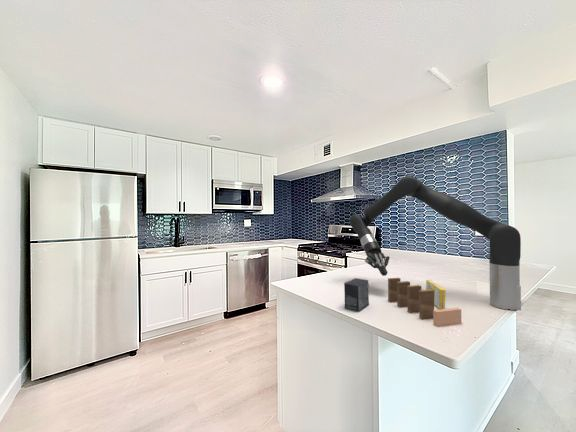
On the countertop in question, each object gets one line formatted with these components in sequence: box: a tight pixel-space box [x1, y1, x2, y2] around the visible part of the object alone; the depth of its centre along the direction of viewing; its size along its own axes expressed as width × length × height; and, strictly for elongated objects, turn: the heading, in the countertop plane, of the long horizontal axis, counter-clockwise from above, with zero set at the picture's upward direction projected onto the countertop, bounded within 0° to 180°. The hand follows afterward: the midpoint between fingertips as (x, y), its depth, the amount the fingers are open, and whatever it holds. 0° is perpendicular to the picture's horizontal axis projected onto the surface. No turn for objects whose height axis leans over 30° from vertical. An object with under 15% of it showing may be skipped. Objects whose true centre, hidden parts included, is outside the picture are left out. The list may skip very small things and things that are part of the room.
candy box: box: [425, 279, 446, 310], centre depth 103 cm, size 16×2×8 cm, turn 168°
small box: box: [343, 277, 370, 313], centre depth 100 cm, size 11×6×10 cm, turn 141°
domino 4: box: [418, 289, 435, 320], centre depth 89 cm, size 2×5×10 cm, turn 103°
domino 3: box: [407, 284, 422, 314], centre depth 95 cm, size 2×5×10 cm, turn 103°
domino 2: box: [396, 280, 411, 308], centre depth 100 cm, size 2×5×10 cm, turn 103°
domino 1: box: [387, 277, 401, 303], centre depth 106 cm, size 2×5×10 cm, turn 103°
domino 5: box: [432, 307, 462, 328], centre depth 84 cm, size 2×5×10 cm
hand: (385, 274), depth 113 cm, fingers closed
